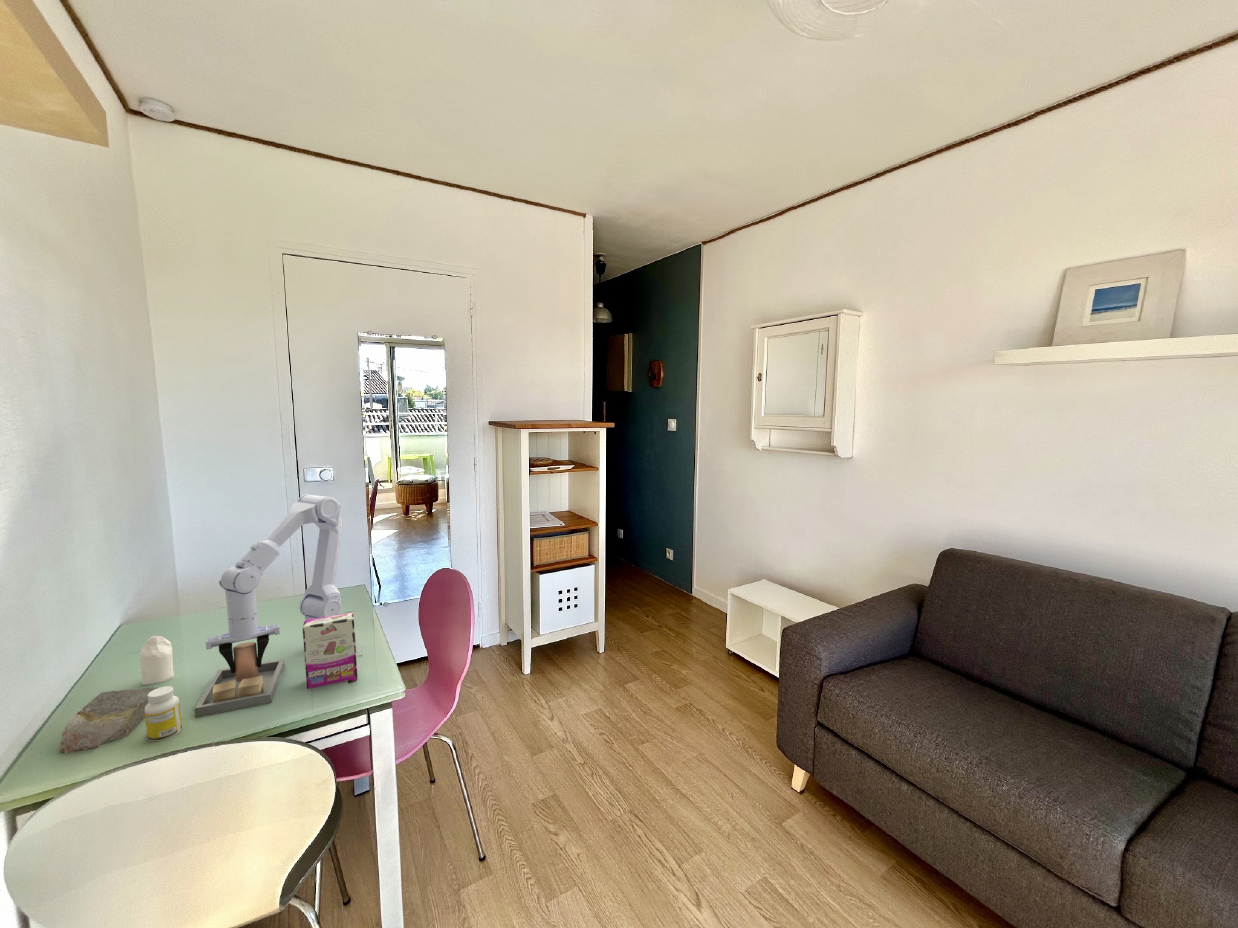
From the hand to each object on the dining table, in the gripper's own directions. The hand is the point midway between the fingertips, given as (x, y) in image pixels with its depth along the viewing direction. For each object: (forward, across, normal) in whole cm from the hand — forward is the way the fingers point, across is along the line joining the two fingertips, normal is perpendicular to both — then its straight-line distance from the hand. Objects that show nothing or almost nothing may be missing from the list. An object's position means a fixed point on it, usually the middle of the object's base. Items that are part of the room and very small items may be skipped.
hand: (246, 668), depth 126 cm
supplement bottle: (+4, +14, +14) cm, 20 cm away
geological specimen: (+5, +23, +4) cm, 24 cm away
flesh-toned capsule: (+2, 0, 0) cm, 2 cm away
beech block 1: (+4, +4, +8) cm, 10 cm away
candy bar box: (+4, -17, +10) cm, 21 cm away
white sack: (+4, +18, -15) cm, 24 cm away
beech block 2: (+4, -1, +9) cm, 10 cm away
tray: (+4, +1, +3) cm, 5 cm away
